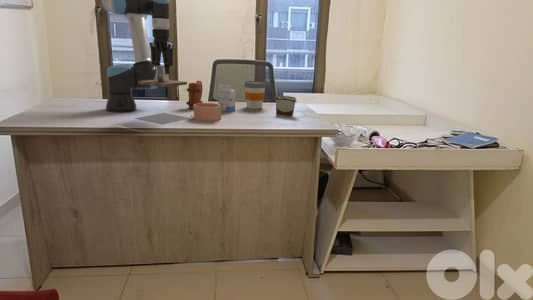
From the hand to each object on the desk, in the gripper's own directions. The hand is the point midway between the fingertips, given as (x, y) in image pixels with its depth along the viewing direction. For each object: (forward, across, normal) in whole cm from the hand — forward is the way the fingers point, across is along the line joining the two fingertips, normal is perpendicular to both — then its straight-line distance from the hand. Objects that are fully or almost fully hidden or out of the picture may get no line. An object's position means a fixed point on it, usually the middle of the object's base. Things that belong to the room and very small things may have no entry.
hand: (162, 80), depth 181 cm
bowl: (+19, +15, +15) cm, 28 cm away
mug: (+19, -10, +34) cm, 40 cm away
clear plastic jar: (+19, +8, +40) cm, 45 cm away
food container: (+19, +38, +53) cm, 68 cm away
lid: (+2, 0, 0) cm, 2 cm away
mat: (+19, 0, 0) cm, 19 cm away
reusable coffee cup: (+19, +13, +59) cm, 63 cm away
